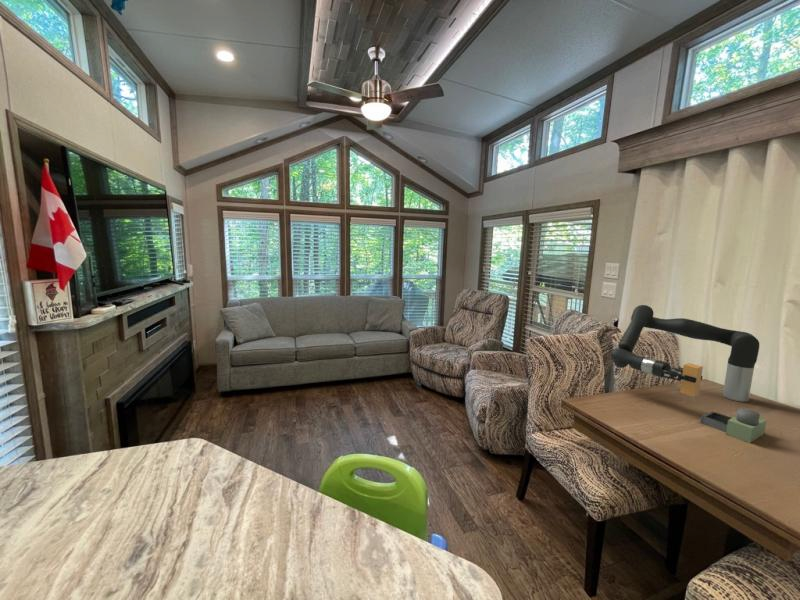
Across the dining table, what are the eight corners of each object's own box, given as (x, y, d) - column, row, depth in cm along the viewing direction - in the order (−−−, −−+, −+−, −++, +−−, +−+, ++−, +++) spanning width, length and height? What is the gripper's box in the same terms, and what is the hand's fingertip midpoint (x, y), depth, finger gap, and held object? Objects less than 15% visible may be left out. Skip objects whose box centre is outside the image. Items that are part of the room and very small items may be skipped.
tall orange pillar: (685, 390, 153) (688, 363, 151) (699, 394, 149) (702, 366, 147) (679, 392, 151) (683, 364, 149) (693, 396, 146) (697, 368, 145)
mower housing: (739, 425, 141) (743, 403, 139) (764, 433, 134) (768, 410, 133) (725, 433, 134) (728, 410, 133) (749, 443, 128) (754, 418, 126)
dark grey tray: (711, 417, 147) (712, 411, 147) (738, 426, 140) (739, 420, 139) (700, 422, 143) (701, 416, 142) (728, 432, 135) (729, 425, 135)
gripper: (662, 372, 165) (705, 384, 150) (646, 377, 159) (690, 390, 144) (663, 357, 164) (707, 368, 149) (647, 362, 157) (692, 374, 142)
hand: (698, 379), depth 146 cm, fingers closed on tall orange pillar, 5 cm apart
